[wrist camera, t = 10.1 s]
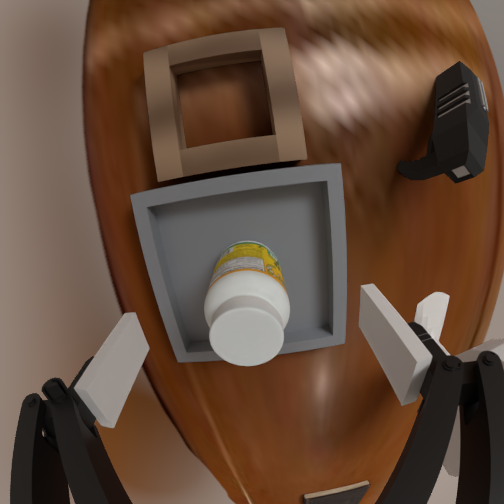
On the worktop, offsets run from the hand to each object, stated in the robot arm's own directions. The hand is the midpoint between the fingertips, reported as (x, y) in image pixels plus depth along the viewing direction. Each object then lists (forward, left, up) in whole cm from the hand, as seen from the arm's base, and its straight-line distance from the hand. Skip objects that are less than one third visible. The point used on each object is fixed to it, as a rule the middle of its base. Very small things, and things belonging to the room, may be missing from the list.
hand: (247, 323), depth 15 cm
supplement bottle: (0, 0, -9) cm, 9 cm away
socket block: (-14, 0, -9) cm, 17 cm away
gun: (-12, +19, -10) cm, 25 cm away
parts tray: (0, 0, -9) cm, 9 cm away
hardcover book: (+70, +12, -10) cm, 72 cm away
